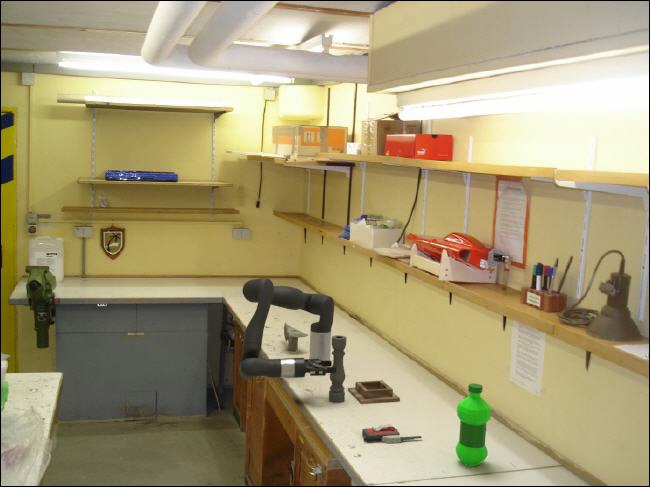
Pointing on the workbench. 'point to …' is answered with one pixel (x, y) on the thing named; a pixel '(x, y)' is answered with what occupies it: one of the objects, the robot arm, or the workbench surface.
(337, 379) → the candle holder
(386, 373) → the workbench surface
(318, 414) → the workbench surface
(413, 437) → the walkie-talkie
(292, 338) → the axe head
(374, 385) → the walnut socket base
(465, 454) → the plastic bottle
